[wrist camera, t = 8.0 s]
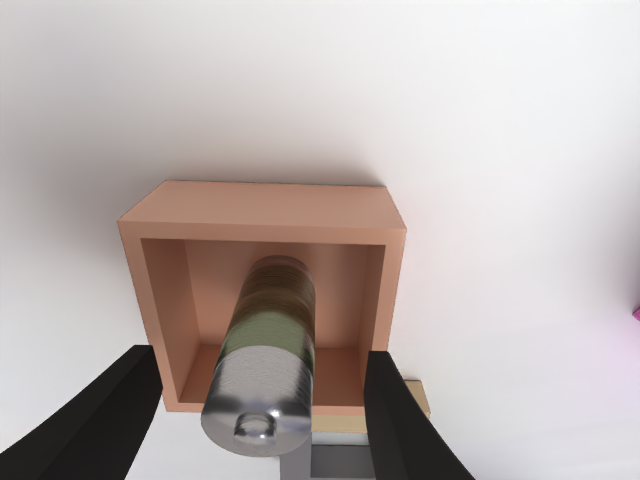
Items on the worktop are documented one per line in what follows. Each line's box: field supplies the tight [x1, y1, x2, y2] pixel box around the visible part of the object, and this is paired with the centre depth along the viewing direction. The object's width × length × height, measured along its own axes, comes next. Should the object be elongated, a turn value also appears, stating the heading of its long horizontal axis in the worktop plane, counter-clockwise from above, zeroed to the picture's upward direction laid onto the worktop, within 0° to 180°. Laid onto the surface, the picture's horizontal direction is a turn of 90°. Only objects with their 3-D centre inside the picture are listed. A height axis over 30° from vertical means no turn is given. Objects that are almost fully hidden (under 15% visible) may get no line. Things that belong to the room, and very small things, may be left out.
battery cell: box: [201, 255, 316, 457], centre depth 13 cm, size 3×3×8 cm
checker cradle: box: [280, 381, 431, 480], centre depth 21 cm, size 8×8×2 cm
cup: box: [117, 180, 407, 416], centre depth 15 cm, size 9×9×4 cm
